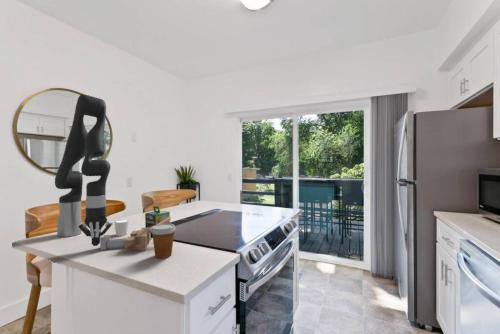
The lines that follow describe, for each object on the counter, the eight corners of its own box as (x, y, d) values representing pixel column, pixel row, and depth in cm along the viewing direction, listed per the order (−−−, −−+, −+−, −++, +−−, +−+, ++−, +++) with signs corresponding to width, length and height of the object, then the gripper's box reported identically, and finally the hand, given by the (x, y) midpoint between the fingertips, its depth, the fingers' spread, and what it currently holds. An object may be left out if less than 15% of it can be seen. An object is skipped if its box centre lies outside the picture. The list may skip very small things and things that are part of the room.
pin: (100, 250, 101) (100, 239, 101) (104, 246, 107) (104, 235, 107) (133, 247, 105) (133, 236, 105) (136, 243, 110) (136, 233, 110)
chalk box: (170, 233, 128) (170, 205, 128) (155, 237, 120) (155, 208, 120) (159, 230, 133) (159, 204, 133) (144, 234, 125) (144, 206, 125)
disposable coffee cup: (161, 262, 90) (161, 230, 90) (145, 256, 95) (145, 227, 95) (180, 254, 98) (180, 225, 98) (165, 249, 103) (165, 222, 103)
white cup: (123, 236, 121) (123, 223, 121) (111, 235, 122) (111, 222, 122) (132, 232, 128) (132, 220, 128) (121, 232, 129) (121, 219, 129)
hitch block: (124, 252, 100) (124, 237, 100) (132, 241, 114) (132, 228, 114) (145, 250, 102) (145, 236, 102) (150, 239, 116) (150, 227, 116)
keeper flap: (149, 233, 107) (147, 231, 106) (150, 230, 111) (149, 228, 111) (171, 220, 109) (169, 218, 109) (171, 218, 114) (170, 215, 113)
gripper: (115, 203, 108) (115, 241, 108) (82, 204, 105) (82, 243, 105) (110, 206, 101) (109, 247, 101) (74, 207, 98) (74, 249, 98)
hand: (95, 245), depth 103 cm, fingers closed
